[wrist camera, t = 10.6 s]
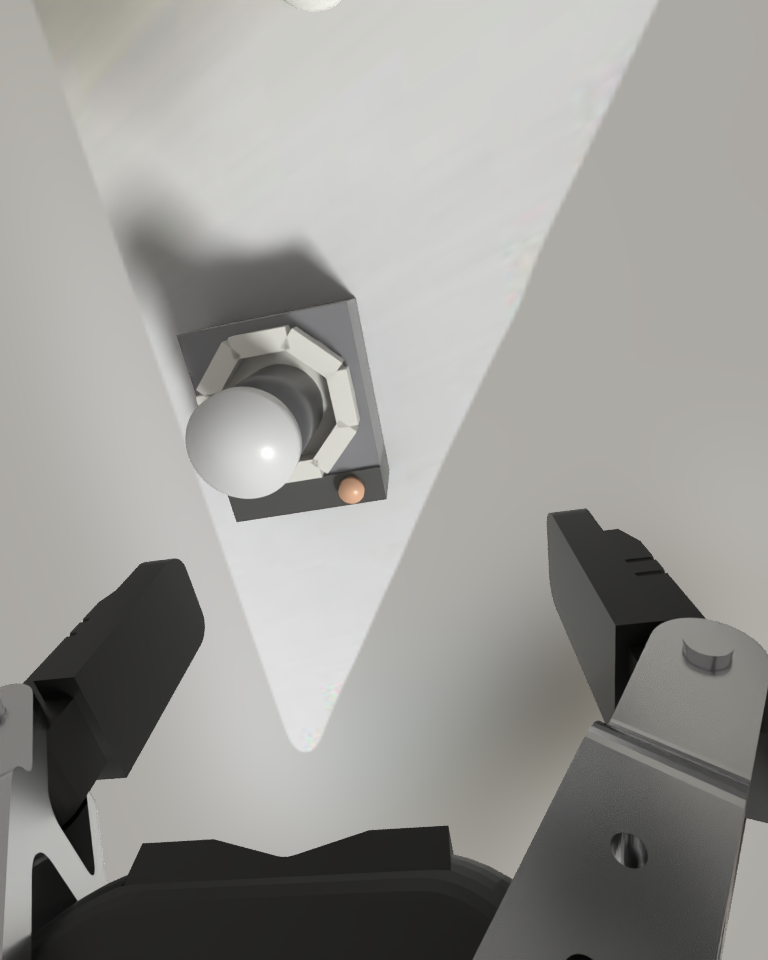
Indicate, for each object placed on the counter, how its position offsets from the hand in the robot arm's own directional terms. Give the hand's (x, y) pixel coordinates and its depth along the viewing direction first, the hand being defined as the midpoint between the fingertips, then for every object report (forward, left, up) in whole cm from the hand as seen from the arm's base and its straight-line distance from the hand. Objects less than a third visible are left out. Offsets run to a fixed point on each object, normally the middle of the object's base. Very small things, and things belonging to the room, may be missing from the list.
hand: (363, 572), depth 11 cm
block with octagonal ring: (+4, -5, -25) cm, 26 cm away
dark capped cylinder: (+3, -6, -20) cm, 20 cm away
